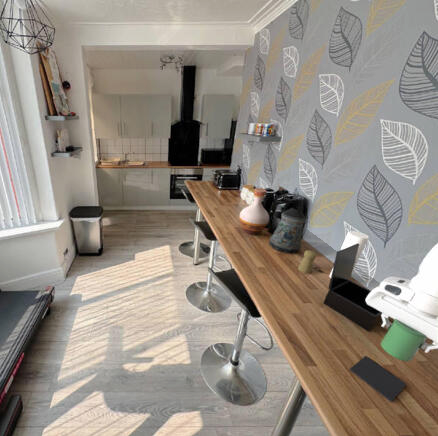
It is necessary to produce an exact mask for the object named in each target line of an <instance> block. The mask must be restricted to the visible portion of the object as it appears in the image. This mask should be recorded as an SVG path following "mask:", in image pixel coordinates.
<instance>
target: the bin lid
mask: <svg viewBox="0 0 438 436" xmlns="http://www.w3.org/2000/svg"><path fill="white" fill-rule="evenodd" d="M358 248H359V244H355V245H352V246H350V247H347V248H345V249H342V250H341V249H339V250H337V251H336V254H335V258H334V259H335V260H334V262H333V266H332V269H333V271H332V270H331V271H332V275H331V278H330V279H329V283H328V290H330V289H332V288H334V287H336V286H338V285H340V284H342V283H344V282H346V281H348V280H350V281H351V279H352V273H353V272H354V270H353V267H354V263H355V259H356V256H357V252H358ZM352 271H353V272H352Z"/></svg>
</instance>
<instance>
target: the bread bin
mask: <svg viewBox="0 0 438 436" xmlns="http://www.w3.org/2000/svg"><path fill="white" fill-rule="evenodd" d="M371 291H372V290H370V289H369V288H366V287H364V286H363V285H360V284H359V283H356V282H355V281H352V280H351V279H350V280H348V281H346V282H344V283H342V284H340V285H338V286H336V287H334V288H332V289H328V291H327V293H326V295H325V298H324V299H323V304H324V305H325V306H327V307H328V308H330V309H332V310H333V311H334V312H336V313H338V314H340V315H341V316H342V317H344V318H346V319H347V320H349V321H350V322H352V323H354V324H355V325H357V326H358V327H360V328H362V329H364V330H365V331H367V332H370V331H371V330H374V328H375V327H377V326H378V325H379V324H380V323H383V320H382V316H381V315H382V312H380V311H379V310H377V309H375V308H373V307H371V306H369V305H368V304H367V303H366V300H365V299H366V297H367V296H368V295H369V293H370V292H371Z"/></svg>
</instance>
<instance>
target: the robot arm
mask: <svg viewBox="0 0 438 436" xmlns="http://www.w3.org/2000/svg"><path fill="white" fill-rule="evenodd" d="M370 291H371V292H370V293H369V295H368V296H367V297H366V299H365V300H366V303H367V304H368V305H369V306H371V307H373V308H375V309H377V310H379V311H380V312H382V315H381V316H382V320H383V321H382V324H381V327H382V328H383V329H385V330H386V331H388V330H389V328H390V326H391V325H392V323H393V322H391V321H390V319H389V318H391V319H393V320H394V319H397V320H399V321H400V322H402V323H404V324H406V325H408V326H410V327H411V328H413V329H415V330H417V331H419V332H420V333H422V334H424V335H426V336H427V339H429V340H431V341H432V343H428V342H426V341H425V342H424V343H423V344H422V346H421V347H420V348H419V350H421V351H422V352H425V353H426V354H428V353H429V352H430V351H431V350H438V242H437V243H436V244H435V245H434V246H432V247H431V249H430V250H429V251H428V252H427V254H426V255H425V256H424V258H423V260H422V261H421V263H420V264H419V266H418V271H417V274H416V275H414V276H413V277H412V278H411V279H408V278H403V277H399V276H395V275H394V276H388V277H386V278H385V279H383V280H382V281H381V282H380V284H379V285H377V286H376V287H374V288H373V289H372V290H370Z"/></svg>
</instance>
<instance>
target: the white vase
mask: <svg viewBox="0 0 438 436" xmlns="http://www.w3.org/2000/svg"><path fill="white" fill-rule="evenodd" d="M266 194H267V189H265V188H262V187H256V188H254V193H253V196H254V197H253V198H254V200H253V203H250V204H249V205H248V206H246V207H244V208H243V209H242V210H241V211H240V213H239V224H240V227H241V228H242V230H243V231H244V233H246V234H248V235H252V236H253V235H257V234H259V233H261V232H262V231H263V230H264V229H265V228H266V227H267V225H268V224H269V221H270V215H269V212H268V211H267V210H266V209H265V208H264V206H263V205H262V202H263V200H264V198H265V197H266Z"/></svg>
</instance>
